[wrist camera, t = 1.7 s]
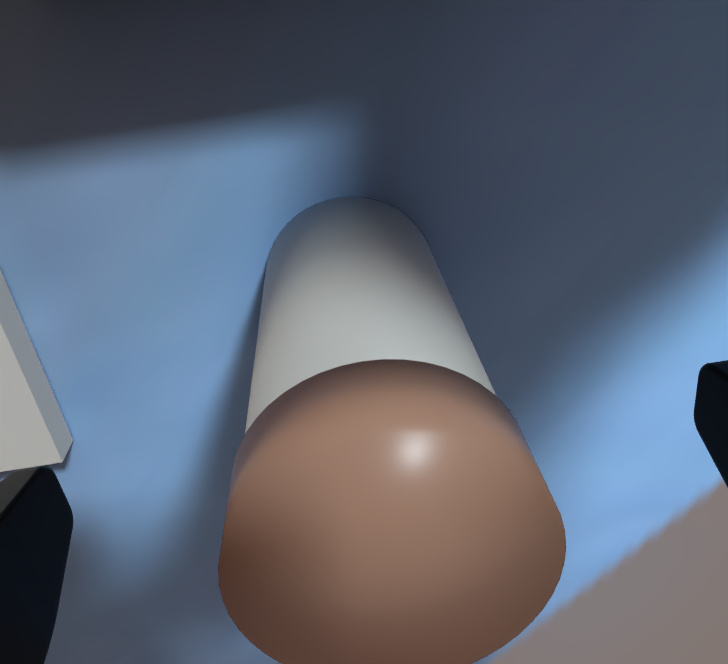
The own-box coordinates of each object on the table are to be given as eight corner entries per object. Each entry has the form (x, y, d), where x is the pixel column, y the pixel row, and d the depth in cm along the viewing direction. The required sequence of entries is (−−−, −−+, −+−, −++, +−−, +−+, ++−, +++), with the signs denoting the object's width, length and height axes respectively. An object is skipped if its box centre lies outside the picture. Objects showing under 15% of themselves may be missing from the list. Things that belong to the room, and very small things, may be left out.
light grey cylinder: (430, 178, 13) (569, 405, 6) (444, 341, 15) (563, 656, 8) (243, 207, 13) (178, 465, 6) (279, 367, 15) (258, 704, 8)
